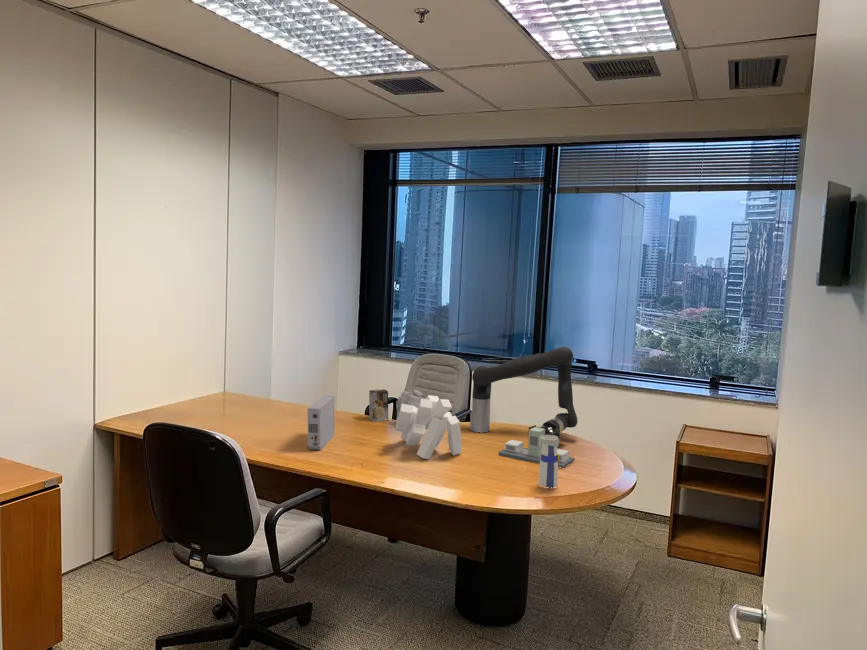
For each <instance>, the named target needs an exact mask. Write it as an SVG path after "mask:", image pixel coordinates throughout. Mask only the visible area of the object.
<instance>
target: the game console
mask: <svg viewBox="0 0 867 650" xmlns="http://www.w3.org/2000/svg"><path fill="white" fill-rule="evenodd" d="M334 436H335V395H327V394H323V396H321V397H320V398H319V399H317V400H316V401H315V402H314V403H313V404H311V405H310V406H309V407H307V447H308V450H313V451H314V450H315V451H316V450H317V451H322V450H323V448H324V447H325V446H326V445H327V444H328V443H329V442H330V441H331V440H332V439H333V438H334Z"/></svg>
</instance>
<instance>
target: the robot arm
mask: <svg viewBox="0 0 867 650" xmlns="http://www.w3.org/2000/svg"><path fill="white" fill-rule="evenodd" d="M573 359H574V353H573V351H572V350H571V348H570V347H567V346H560V347H557V348H554V349H552V350H549V351H545V352H543V353H535V354H530V355H524V356H521V357H516V358H514V359H511V360H508V361H506V362H504V363H500V364H498V365H496V366H490V367H487V366H485V365H481V366H477V367H476V368H475V370H474V371H473V373H472V377H471V379H472V382H473V385H472V401H471V403H472V404H471V411H470V415H469V417H470V418H469V419H470V420H469V422H470V423H469V431H472V432H474V433H478V432H480V434H481V433H484V432H486V433H489V432H491V431H490V428H491V426H490V425H491V397H492V396H491V394H492V383H495V382H499V381H501V380H506V379H507V380H508V379H513V378H518V377H524V376H527V375H531V374H533V373H537V372H538V371H541V370H543V369H546V368H550V367H555V366H556V367H557V374H558V376H557V377H558V385H557V399H558V400H557V401H558V407H559V408H560V409H565V410H566V411H567V412H560V413H557V414H556V415H555V417H554V418H551V419H549V420H547V421H545V422H544V423H543V424H542V425H540V426H537V425H535V424H534V425H531V426H530V427H528V431H529V430H530V429H532V428H534V427H537V428H542V429H545V435H554V436H557V437H558V438H560V437H561V436H562V432H563V431H565V430H566V429H567V428H575V427H576V426H577V425H578V421H579V420H578V416H577V414H576V413H577V412H576V410H575V406H574V397H573V396H574V395H573V384H572V364H573ZM560 425H561V433H560ZM488 431H489V432H488ZM527 433H528V436H529V432H527Z"/></svg>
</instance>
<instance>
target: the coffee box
mask: <svg viewBox="0 0 867 650" xmlns="http://www.w3.org/2000/svg"><path fill="white" fill-rule="evenodd" d="M368 394H369V395H368V397H369V406H368V407H369V409H368V411H369V412H368V414H369V417H368V418H369V421H371V422H373V423H374V422H383V420H384V421H385V419H388V420H389V391H388V390H386V389H384V388H383V389H373V390H369V392H368Z"/></svg>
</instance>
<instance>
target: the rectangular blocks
mask: <svg viewBox="0 0 867 650" xmlns="http://www.w3.org/2000/svg"><path fill="white" fill-rule="evenodd" d="M523 448H524V441H519V440H515V439H511V440H509V441H506V442H505V443H504V449H505V450H508V451H513V452H518V451H520V450H521V449H523ZM557 451H558V453H559V461H562V462H563V461H565V460H566V459H568V458H569V457H570V450H567V449H562V448H561V449H560V448H557Z"/></svg>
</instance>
